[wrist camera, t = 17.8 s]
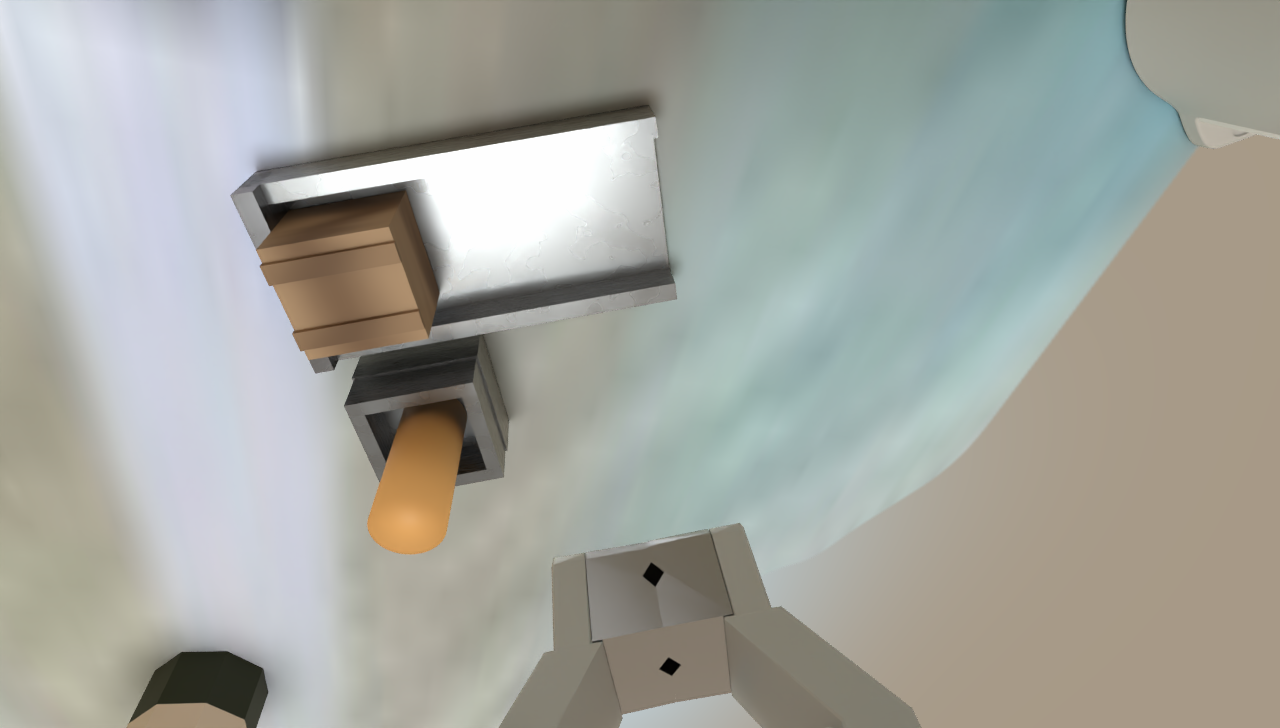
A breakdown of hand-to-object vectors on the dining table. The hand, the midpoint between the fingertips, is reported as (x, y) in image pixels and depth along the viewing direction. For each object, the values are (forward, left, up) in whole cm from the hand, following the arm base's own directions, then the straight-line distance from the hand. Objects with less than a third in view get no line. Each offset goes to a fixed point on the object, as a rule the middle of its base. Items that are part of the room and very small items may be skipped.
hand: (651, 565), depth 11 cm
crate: (+12, +5, -29) cm, 31 cm away
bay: (+6, +5, -29) cm, 30 cm away
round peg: (+11, +14, -26) cm, 32 cm away
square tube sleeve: (+11, +14, -29) cm, 34 cm away
